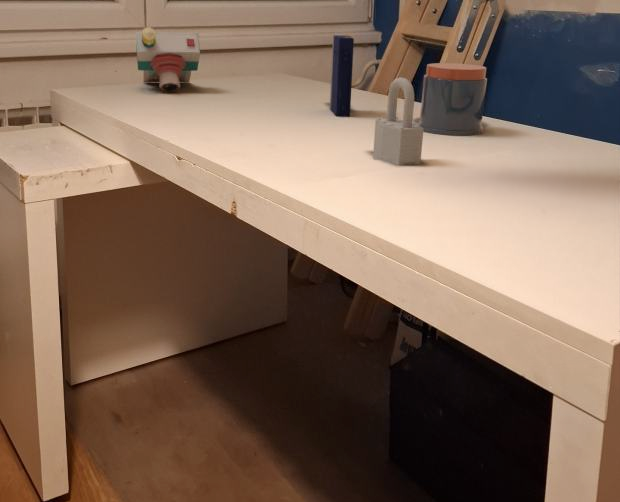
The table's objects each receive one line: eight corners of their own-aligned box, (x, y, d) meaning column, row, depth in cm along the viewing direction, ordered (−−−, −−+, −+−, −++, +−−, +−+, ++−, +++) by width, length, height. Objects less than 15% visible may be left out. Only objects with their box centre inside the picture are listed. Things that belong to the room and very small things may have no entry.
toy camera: (140, 116, 151) (140, 71, 132) (136, 73, 152) (136, 22, 133) (196, 116, 154) (204, 72, 134) (192, 73, 154) (199, 23, 135)
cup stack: (469, 123, 119) (476, 63, 115) (492, 135, 111) (501, 70, 107) (409, 123, 118) (414, 62, 114) (428, 135, 109) (434, 69, 105)
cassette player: (350, 116, 122) (354, 36, 117) (336, 116, 122) (339, 36, 116) (343, 109, 129) (346, 33, 123) (329, 109, 128) (332, 32, 123)
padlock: (368, 159, 93) (373, 74, 88) (397, 158, 94) (404, 73, 90) (393, 173, 87) (400, 81, 82) (424, 171, 88) (433, 81, 84)
